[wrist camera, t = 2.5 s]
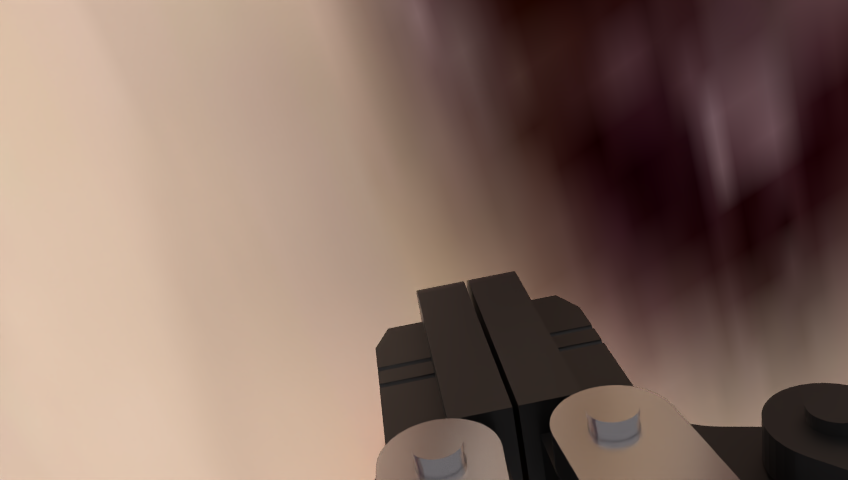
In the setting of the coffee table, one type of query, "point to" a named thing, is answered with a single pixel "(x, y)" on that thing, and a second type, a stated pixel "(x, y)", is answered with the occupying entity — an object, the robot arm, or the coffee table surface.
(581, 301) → the coffee table surface
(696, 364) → the coffee table surface
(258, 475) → the coffee table surface
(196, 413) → the coffee table surface
